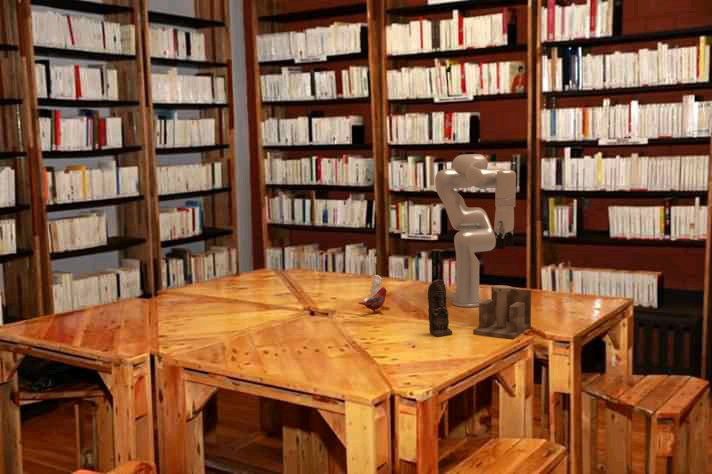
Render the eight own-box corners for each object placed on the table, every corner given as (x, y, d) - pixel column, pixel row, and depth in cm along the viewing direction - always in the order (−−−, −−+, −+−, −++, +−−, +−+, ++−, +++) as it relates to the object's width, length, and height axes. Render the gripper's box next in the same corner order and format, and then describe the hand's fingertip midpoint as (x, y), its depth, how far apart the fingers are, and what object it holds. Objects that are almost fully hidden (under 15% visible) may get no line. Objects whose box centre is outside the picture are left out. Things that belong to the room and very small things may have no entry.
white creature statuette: (361, 304, 342) (360, 276, 340) (368, 300, 350) (368, 272, 348) (382, 305, 339) (382, 277, 337) (389, 301, 346) (389, 274, 345)
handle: (508, 329, 292) (508, 288, 290) (490, 327, 294) (491, 287, 292) (511, 326, 296) (512, 286, 294) (494, 324, 299) (495, 284, 297)
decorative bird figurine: (389, 310, 329) (389, 286, 328) (360, 318, 316) (360, 293, 315) (384, 309, 331) (384, 285, 330) (355, 317, 318) (354, 292, 317)
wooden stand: (473, 334, 291) (473, 296, 289) (492, 322, 308) (492, 286, 306) (513, 339, 284) (514, 300, 282) (530, 326, 301) (531, 289, 299)
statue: (437, 337, 287) (437, 282, 285) (426, 332, 294) (426, 278, 291) (453, 334, 291) (453, 280, 288) (442, 330, 297) (442, 277, 294)
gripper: (503, 200, 317) (502, 243, 319) (488, 204, 302) (487, 249, 304) (522, 201, 313) (521, 244, 315) (507, 205, 298) (506, 250, 300)
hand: (504, 247), depth 310 cm, fingers open, 9 cm apart
